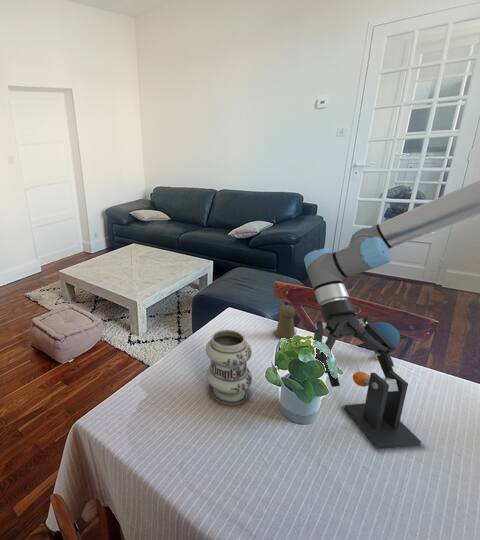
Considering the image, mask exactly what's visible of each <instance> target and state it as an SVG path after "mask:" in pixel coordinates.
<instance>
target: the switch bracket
mask: <svg viewBox="0 0 480 540" xmlns="http://www.w3.org/2000/svg"><path fill="white" fill-rule="evenodd" d="M369 377H370V380H369V385H368V386H367V390H366V391H367V392H366V397H365V403H354V404H353V403H352V404H345V405H344V408H343V409H344V411H345V412H346V413H347V414H348V415H349V417H350V418H351V419H352V420H353V421H354V423H355V424H356V425H357V426H358V428H360V430H361V431H362V432H363V433H364V435H366V437H367V438H368V440H369V441H371V443H372V444H373V445H374V447H375V448H376V449H377V450H380V449H397V448H409V447H419V446H421V443H422V441H421V440H420V439H419V438H418V437H417V436H416V435H415V434H414V433H413V432H412V431H411V430H410V429H409V428H408V427H407V426H406V425H405V424H404V423H403V422H402V421H401V418H402V413H403V410H404V404H405V400H406V396H407V391H408V387H409V383H408V382H407V381H406V380H405V379H403V378H402V377H401V376H400V375H399V374H397V373H396V372H395V371H394V370H393V371H389V373H388V378H390V379H396V382H397V386H398V391H391V392H388V389H389V385H388V384H387V383H386V382H385V381H384V380H383V379H382V378H383V377H381V376H379V375H378V374H377V373H376V372H370V374H369Z"/></svg>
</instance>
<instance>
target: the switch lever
mask: <svg viewBox="0 0 480 540" xmlns="http://www.w3.org/2000/svg"><path fill="white" fill-rule="evenodd" d="M381 378H382V379H383V380H384V381H385V382H386V383H387V384H388V385H389V389H388V392H391V391H398V386H397V382H396V379H390V378H385V377H381ZM369 380H370V374H368V373H366V372H364V371H356V372H355V373H353V376H352V381H353V382H354V383H355V385H357V386H358V387H362V388H364V387H365V388H366V387H368V385H369Z"/></svg>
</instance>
